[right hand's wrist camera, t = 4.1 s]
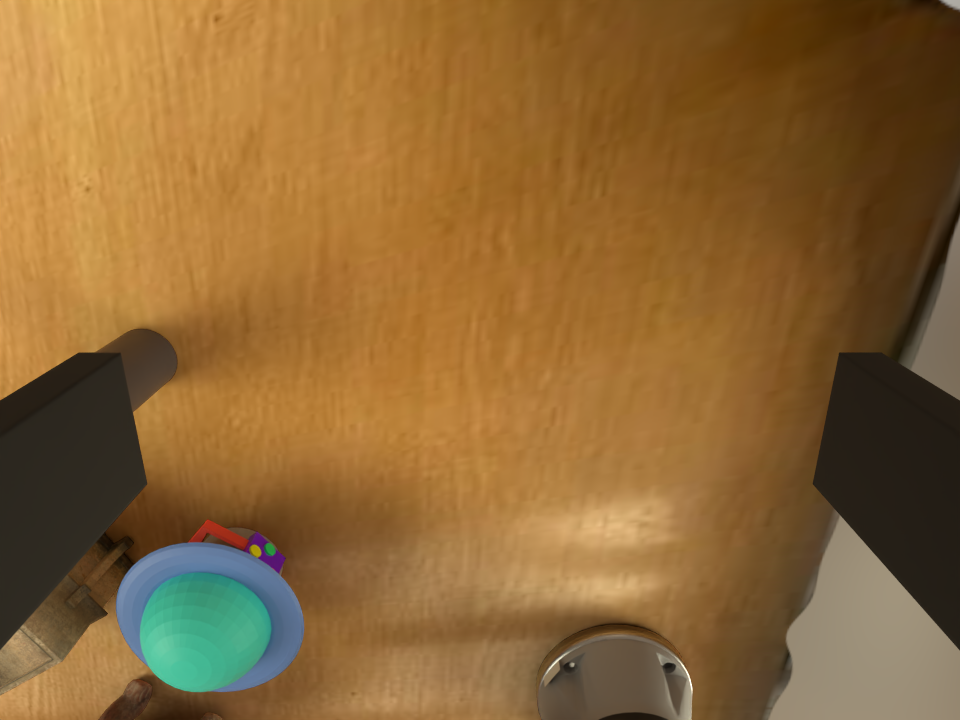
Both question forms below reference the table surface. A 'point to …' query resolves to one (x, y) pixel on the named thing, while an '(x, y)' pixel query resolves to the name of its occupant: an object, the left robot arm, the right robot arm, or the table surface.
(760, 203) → the table surface
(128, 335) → the bottle
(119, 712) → the sculpture
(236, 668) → the toy flying saucer
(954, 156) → the table surface
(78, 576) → the miniature house
